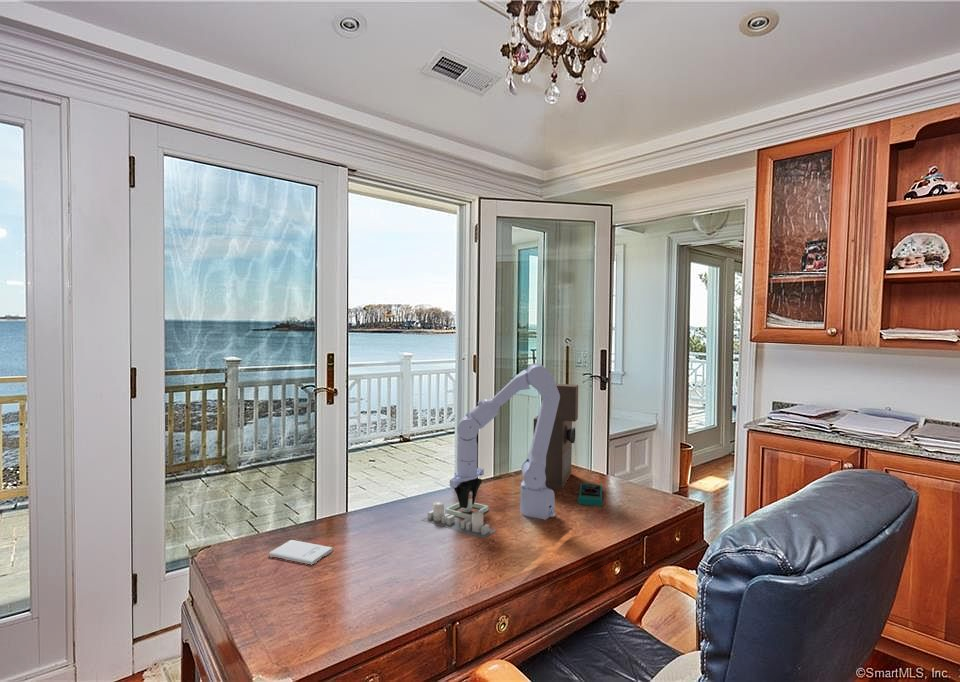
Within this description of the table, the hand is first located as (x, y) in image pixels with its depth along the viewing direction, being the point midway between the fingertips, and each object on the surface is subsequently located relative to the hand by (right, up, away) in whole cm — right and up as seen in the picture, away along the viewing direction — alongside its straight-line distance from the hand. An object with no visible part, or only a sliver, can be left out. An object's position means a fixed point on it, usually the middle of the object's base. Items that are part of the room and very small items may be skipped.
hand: (467, 505), depth 148 cm
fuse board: (-2, -3, -10) cm, 11 cm away
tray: (0, -3, 0) cm, 3 cm away
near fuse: (+3, -2, -13) cm, 14 cm away
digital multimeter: (+39, -3, +16) cm, 43 cm away
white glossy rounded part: (-8, -2, -6) cm, 10 cm away
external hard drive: (-39, -5, -25) cm, 47 cm away
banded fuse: (0, -1, 0) cm, 1 cm away
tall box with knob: (+30, -2, +33) cm, 45 cm away
